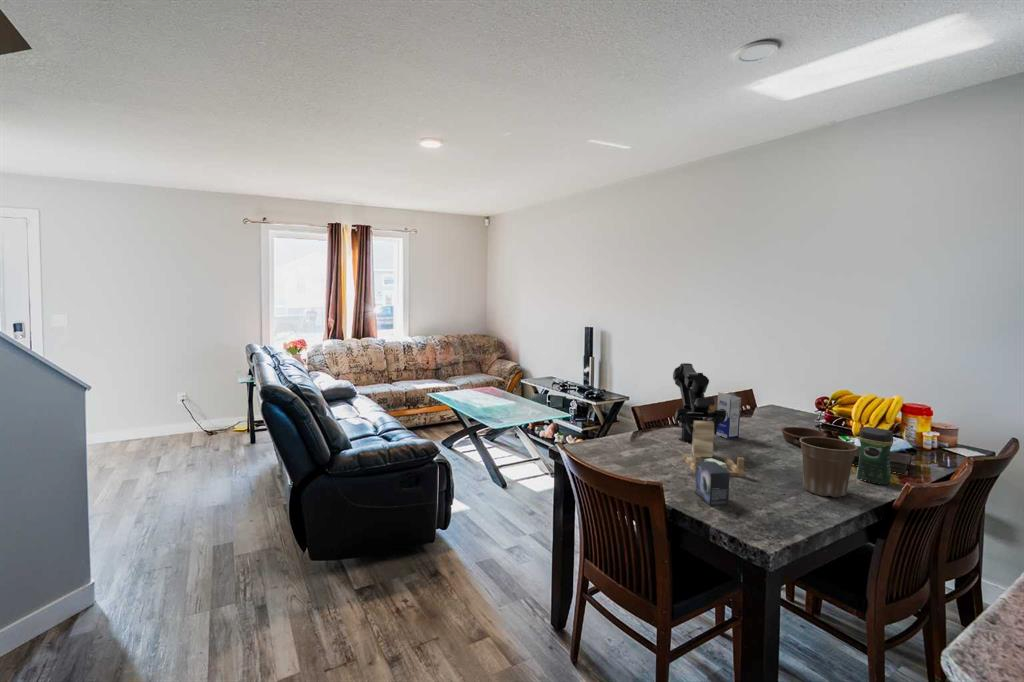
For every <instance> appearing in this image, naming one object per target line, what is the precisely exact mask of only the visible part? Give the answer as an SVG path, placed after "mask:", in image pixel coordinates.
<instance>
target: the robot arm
mask: <svg viewBox="0 0 1024 682" xmlns="http://www.w3.org/2000/svg"><path fill="white" fill-rule="evenodd" d="M672 379H673V381H674V383H675V385H676V386H677V387H678V388H679V391H680V397H681V400H682V405H683V407H682V408H678V407H677V409H676V411H675V414H674V419H675V421H676V422H678V426H679V427H680V428H681V437H679V438H678V440H679V441H682V442H684V441H685V442H684V443H687V442H688V443H687V444H692V443H691V442H692V438H693V421H704V419H712V420H711V421H712V422H713V423H714V436H716V433H717V428H718V424H720V423H722V422H724V420H725V417H726V412H725V411H724V410H717V409H714V411H713V412H709V410H710V407H712V406H715V403H716V402H715V397H714V396H709V397H706V396H705V393H706V391H707V389H708V386H709V383H710V379H709V377H707V376H706V375H704V372H697V371H696V370H695V368H694V366H693V363H689V362H687V363H685V362H684V363H683V362H682V363H680V364H679V366H677V367H675V368H674V370H673V372H672Z"/></svg>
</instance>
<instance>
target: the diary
mask: <svg viewBox="0 0 1024 682" xmlns="http://www.w3.org/2000/svg"><path fill="white" fill-rule="evenodd" d="M856 446H857V447H858V449H857V450H856V451H855V456H854V460H853V461H852V464H854V465H858V463H859V457H860V450H861V445H856ZM912 457H913V455H912V454H910V453H904V452H897V451H890V471H891V472H896V473H902V474H905V472H906V470H907V467H908V466H909V465H910V464H911V465H912Z"/></svg>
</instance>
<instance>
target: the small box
mask: <svg viewBox="0 0 1024 682" xmlns="http://www.w3.org/2000/svg"><path fill="white" fill-rule="evenodd" d="M729 471H730V470H728V469H727V470H726V469H724V468H723V467H722V466H720V465H719V464H717V463H716V462H715V461H712V462H704V461H701V462H697V467H696V475H695V494H696V495H697V496H699V498H701V500H702V501H704V502H705V503H706V504H707V505H708V506H709V507H718V506H719V507H720V506H723V507H724V506H726V507H727V506H729V505H730V500H729V499H730V498H729V494H730V478H731V476H730V472H729Z"/></svg>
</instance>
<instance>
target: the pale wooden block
mask: <svg viewBox="0 0 1024 682" xmlns="http://www.w3.org/2000/svg"><path fill="white" fill-rule="evenodd" d="M714 436H715V435H714V423H713V420H703V421H693V438H692V443H691V455H692V456H693V457H694V455H696V456H700V457H701V458H713V453H714V439H715V437H714Z"/></svg>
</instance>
